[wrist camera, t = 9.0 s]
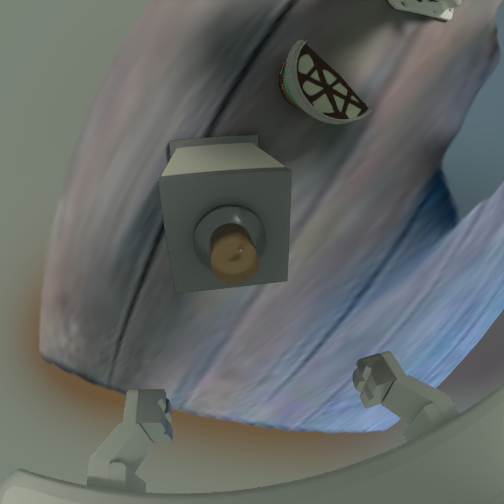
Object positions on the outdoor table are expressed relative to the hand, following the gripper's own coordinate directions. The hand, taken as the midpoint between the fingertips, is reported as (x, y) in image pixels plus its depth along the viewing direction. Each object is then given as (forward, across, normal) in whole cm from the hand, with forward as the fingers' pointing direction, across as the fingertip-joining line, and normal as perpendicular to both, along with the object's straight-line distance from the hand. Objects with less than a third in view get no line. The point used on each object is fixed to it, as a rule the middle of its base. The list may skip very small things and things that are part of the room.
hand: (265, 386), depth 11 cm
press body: (+34, 0, 0) cm, 34 cm away
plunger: (+29, 0, 0) cm, 29 cm away
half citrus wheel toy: (+34, -12, -12) cm, 38 cm away
